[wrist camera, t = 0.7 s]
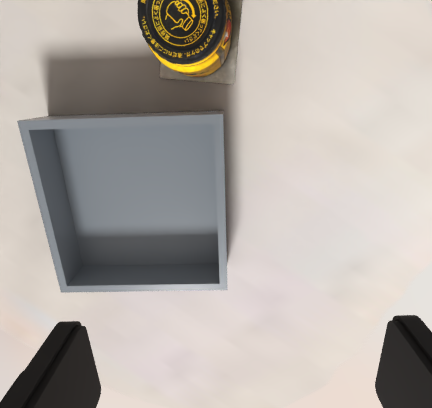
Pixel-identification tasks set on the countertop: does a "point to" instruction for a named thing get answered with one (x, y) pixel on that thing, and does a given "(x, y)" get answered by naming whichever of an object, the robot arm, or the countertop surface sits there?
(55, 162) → the open bin
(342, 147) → the countertop surface
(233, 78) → the condiment
